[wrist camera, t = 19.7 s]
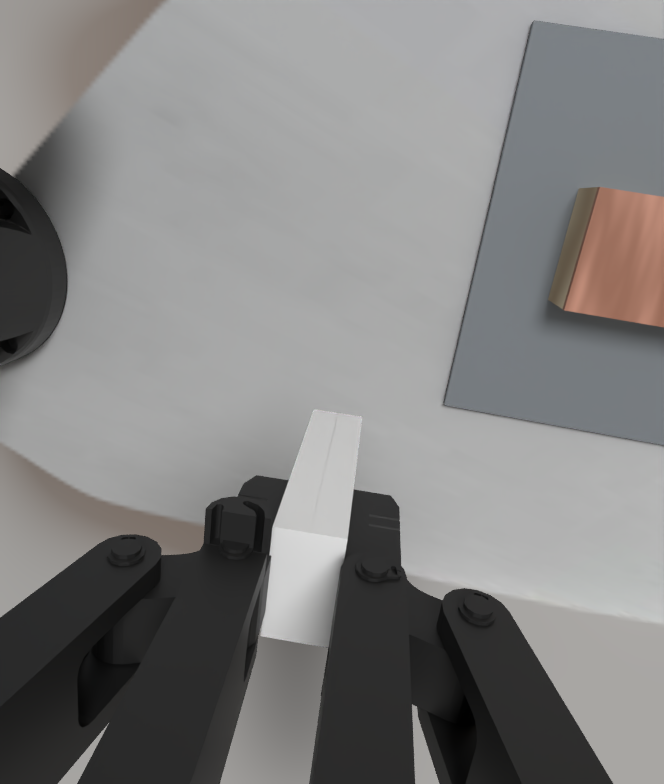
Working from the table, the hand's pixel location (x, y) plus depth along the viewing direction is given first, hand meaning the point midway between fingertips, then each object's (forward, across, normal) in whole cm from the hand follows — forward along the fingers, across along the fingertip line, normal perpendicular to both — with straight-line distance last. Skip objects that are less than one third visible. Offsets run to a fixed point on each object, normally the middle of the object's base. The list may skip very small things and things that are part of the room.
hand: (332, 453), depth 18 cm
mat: (+24, -16, -6) cm, 29 cm away
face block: (+21, -12, -6) cm, 25 cm away
